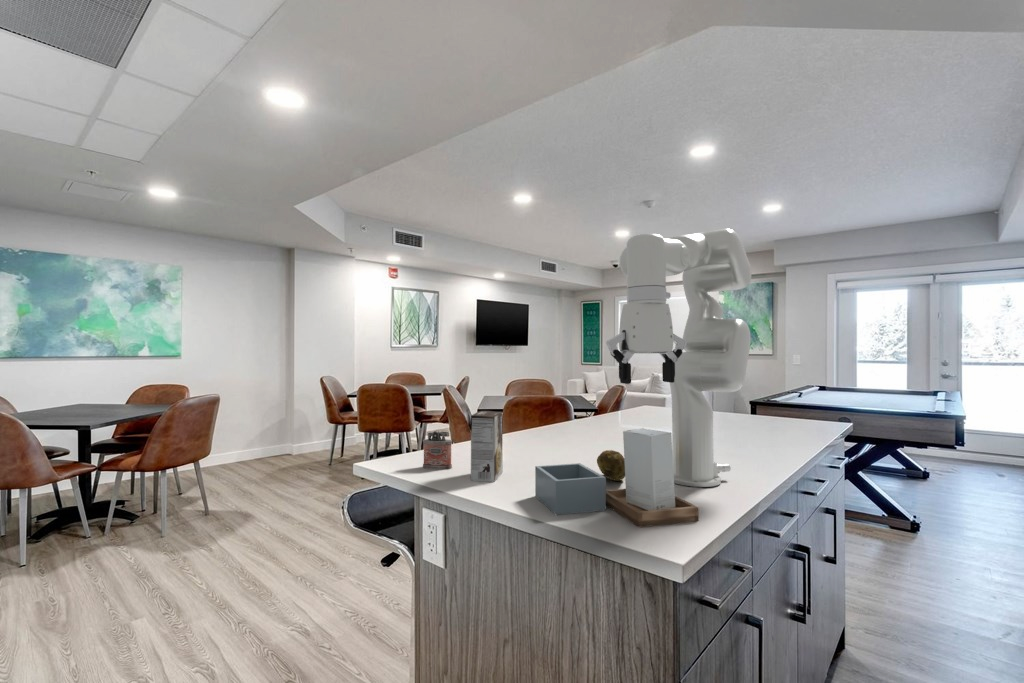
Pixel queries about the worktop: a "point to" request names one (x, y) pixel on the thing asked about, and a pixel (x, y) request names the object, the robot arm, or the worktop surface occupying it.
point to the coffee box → (486, 446)
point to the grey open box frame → (570, 488)
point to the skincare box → (649, 469)
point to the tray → (651, 511)
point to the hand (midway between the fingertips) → (647, 382)
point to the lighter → (437, 451)
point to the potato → (612, 465)
